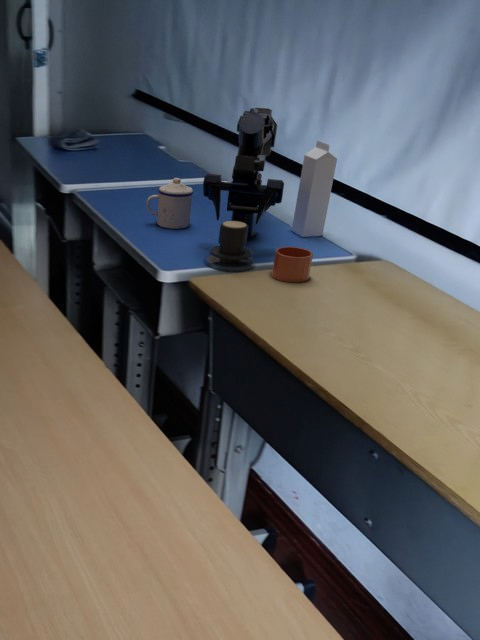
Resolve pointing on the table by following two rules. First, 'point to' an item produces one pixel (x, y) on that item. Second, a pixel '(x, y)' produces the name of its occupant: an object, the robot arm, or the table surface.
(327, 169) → the milk
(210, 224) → the table surface
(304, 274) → the cup
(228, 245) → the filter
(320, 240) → the table surface
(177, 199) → the teacup with lid
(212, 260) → the saucer
